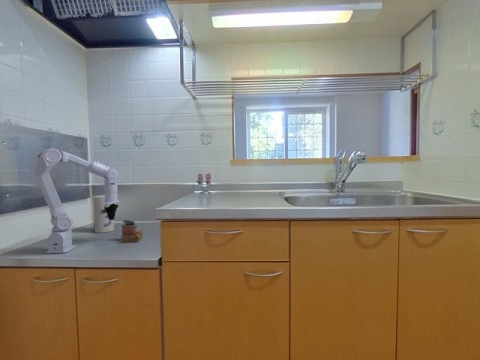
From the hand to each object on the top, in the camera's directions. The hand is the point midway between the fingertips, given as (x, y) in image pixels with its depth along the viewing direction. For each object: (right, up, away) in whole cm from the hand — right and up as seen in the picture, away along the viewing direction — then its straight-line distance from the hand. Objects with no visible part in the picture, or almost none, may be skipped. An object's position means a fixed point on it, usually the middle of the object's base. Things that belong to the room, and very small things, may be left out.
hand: (111, 219), depth 129 cm
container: (-14, -10, +20) cm, 27 cm away
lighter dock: (+10, -10, +2) cm, 14 cm away
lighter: (+8, -11, +2) cm, 14 cm away
